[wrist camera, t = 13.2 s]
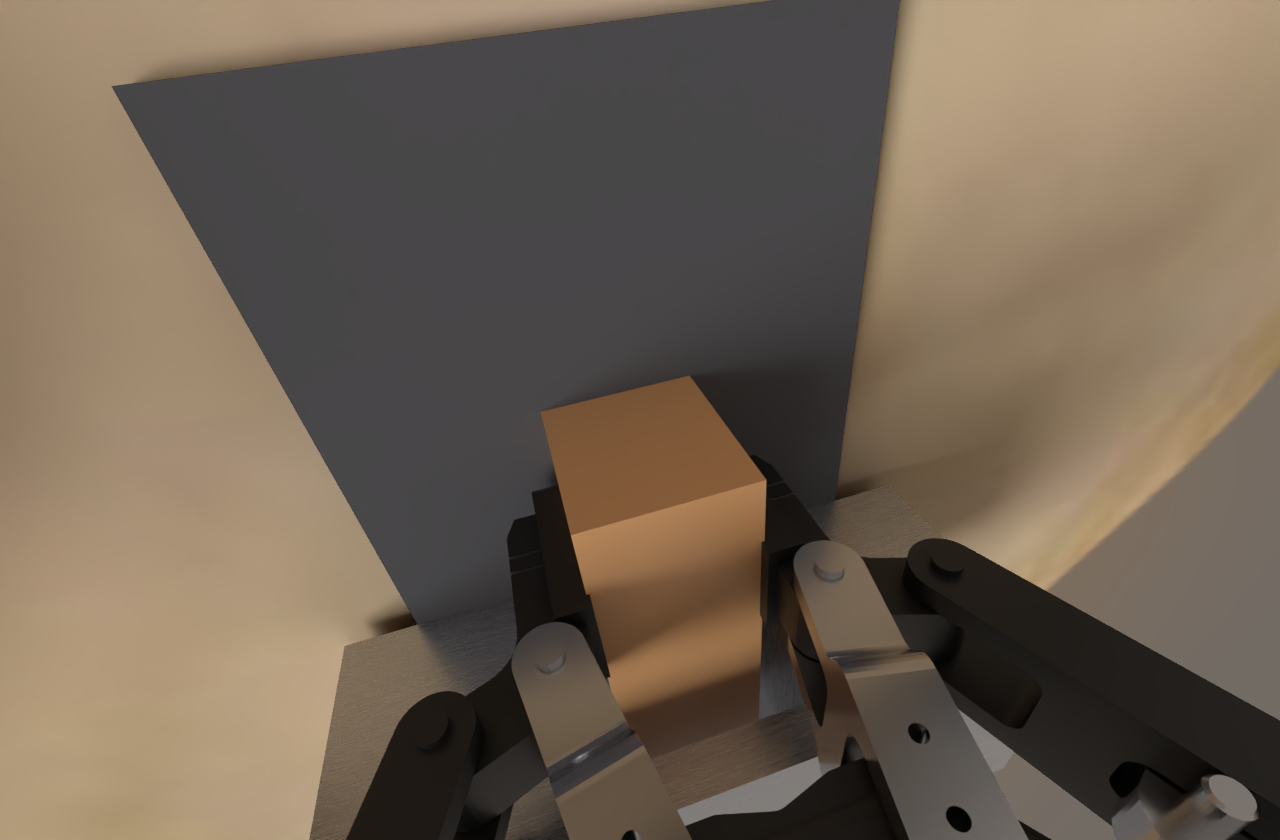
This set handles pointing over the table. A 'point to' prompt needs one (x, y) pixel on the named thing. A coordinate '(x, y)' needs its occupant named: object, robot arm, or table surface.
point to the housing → (693, 775)
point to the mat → (540, 249)
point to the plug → (667, 555)
